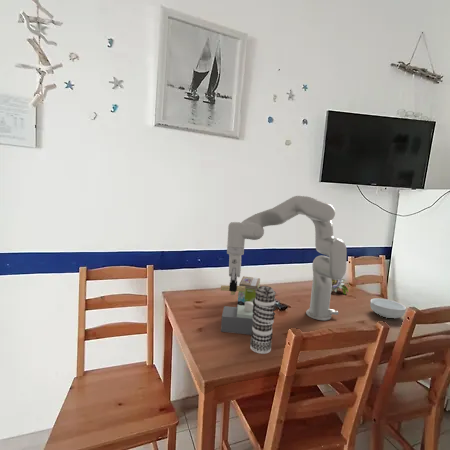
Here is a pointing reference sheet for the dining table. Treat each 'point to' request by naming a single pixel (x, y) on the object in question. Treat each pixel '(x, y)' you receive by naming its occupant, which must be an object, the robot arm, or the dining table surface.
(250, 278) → the tea box
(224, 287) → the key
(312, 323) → the dining table surface
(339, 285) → the passion flower
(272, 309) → the decorative candle
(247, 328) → the case
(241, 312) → the lid
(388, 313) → the cereal bowl
